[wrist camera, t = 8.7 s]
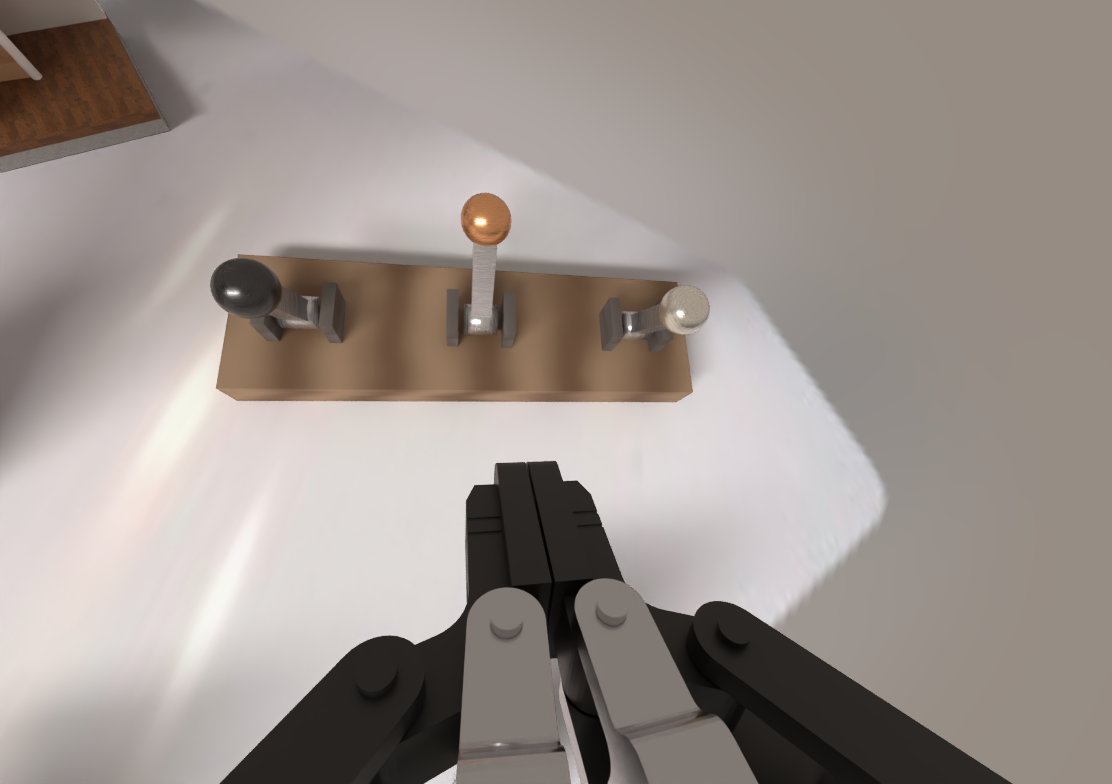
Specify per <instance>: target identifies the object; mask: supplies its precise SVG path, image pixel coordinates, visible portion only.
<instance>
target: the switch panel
mask: <svg viewBox="0 0 1112 784" xmlns="http://www.w3.org/2000/svg"><path fill="white" fill-rule="evenodd" d="M238 258H249V259H254V260H257V261H259V262H261V263H263V264H265V265H267V266H268V267H269V268H270V269H272V270H273V271H274V273H275V274H276V275H277V277H278V278H279V280H280V283H281V286H283V287H285V288H287V289H289V290H290V291H292V292H294V293H296V294H298V295H300V296H316V297H321V298H322V299H321V309H320V319H319V327H320V329H296V328H281V327H280V326H279V325H278V323H277V320H276V317H273V316H271V315H267V316H264V317H261V318H255V319H246V318H240V317H237V316H234V315H232V314H230V313H228V319H227V325H226V331H225V337H224V343H223V349H222V355H221V361H220V367H219V373H218V379H217V385H216V389H218V390H220V391H222V392H223V393H225V394H227V395H228V396H230V397H232V398H233V399H235V400H237V401H501V402H677V401H679V400H681V399H682V398H684V397H686V396H687V395H689V394H691V393H692V392H693V389H692V382H691V376H690V369H689V362H688V355H687V348H686V341H685V335H679V334H675V333H672V332H671V331H669V330H668V329H665V330H661V331H657V332H654V333H653V336H652V338H651V339H650V340H623V339H622V338H623V337H624V336H623V327H622V317H621V311H632V312H640V311H642V310H645V309H647V308H650V307H653V306H655V305H658V304H660V303H661V301H662V299H663V297H664V296H665V295H666V293H667V292H669V291H670V290H671V289H673V288H675V287H678V285H677V282H665V281H650V280H634V279H618V278H602V277H587V276H571V275H555V274H539V273H523V272H508V271H495V278H494V290H493V303H492V305H498V333H497V335H474V334H464V304H471V292H472V269H460V268H445V267H429V266H413V265H397V264H382V263H366V262H350V261H334V260H318V259H303V258H287V257H271V256H255V255H240V254H238Z"/></svg>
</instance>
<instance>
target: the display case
mask: <svg viewBox="0 0 1112 784" xmlns="http://www.w3.org/2000/svg"><path fill="white" fill-rule="evenodd" d="M167 131H170V130H169V128H168V126H167V124H166V122H165V120H164V118H163V116H162V114H161V112H160V110H159V108H158V107H157V105H156V103H155V101H154V99H153V97H152V95H151V93H150V91H149V89H148V87H147V85H146V84H145V82H144V80H143V78H142V76H141V74H140V72H139V70H138V68H137V66H136V64H135V63H134V61H133V59H132V57H131V55H130V53H129V51H128V49H127V47H126V45H125V43H124V41H123V40H122V38H121V36H120V34H119V33H118V31H117V30H116V28H115V27H114V26H113V24H112V23H111V21H110V20H109V18H108V17H107V15H106V14H105V12H104V11H103V9H102V8H101V6H100V5H99V3H98V2H97V1H96V0H0V173H1V172H5V171H9V170H13V169H17V168H21V167H25V166H29V165H33V164H37V163H41V162H45V161H49V160H53V159H57V158H61V157H65V156H70V155H74V154H78V153H82V152H86V151H90V150H94V149H98V148H102V147H106V146H110V145H114V144H118V143H122V142H126V141H130V140H134V139H138V138H142V137H146V136H150V135H154V134H159V133H163V132H167Z"/></svg>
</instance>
